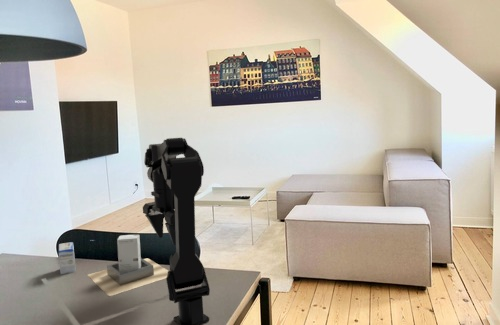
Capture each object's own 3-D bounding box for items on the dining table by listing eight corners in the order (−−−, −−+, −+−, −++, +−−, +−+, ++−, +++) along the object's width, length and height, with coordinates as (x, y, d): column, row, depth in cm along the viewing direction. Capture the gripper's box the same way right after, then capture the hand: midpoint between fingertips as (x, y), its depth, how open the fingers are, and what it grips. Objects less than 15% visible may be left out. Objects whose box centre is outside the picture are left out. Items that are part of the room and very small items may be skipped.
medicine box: (61, 269, 132) (58, 243, 131) (75, 266, 134) (73, 241, 133) (60, 277, 125) (57, 250, 124) (76, 274, 127) (73, 248, 126)
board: (175, 278, 120) (175, 275, 120) (109, 299, 108) (109, 296, 108) (147, 260, 136) (147, 258, 136) (87, 277, 124) (87, 274, 124)
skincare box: (119, 278, 119) (115, 239, 118) (122, 273, 124) (119, 235, 122) (140, 277, 120) (136, 238, 118) (142, 271, 124) (139, 233, 123)
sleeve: (153, 275, 121) (153, 265, 121) (120, 285, 114) (119, 275, 114) (140, 265, 129) (139, 256, 129) (107, 274, 123) (106, 265, 122)
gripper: (205, 187, 110) (209, 241, 112) (173, 180, 125) (177, 228, 127) (169, 194, 103) (173, 251, 105) (140, 185, 118) (144, 236, 120)
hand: (167, 241), depth 114 cm, fingers open, 9 cm apart
